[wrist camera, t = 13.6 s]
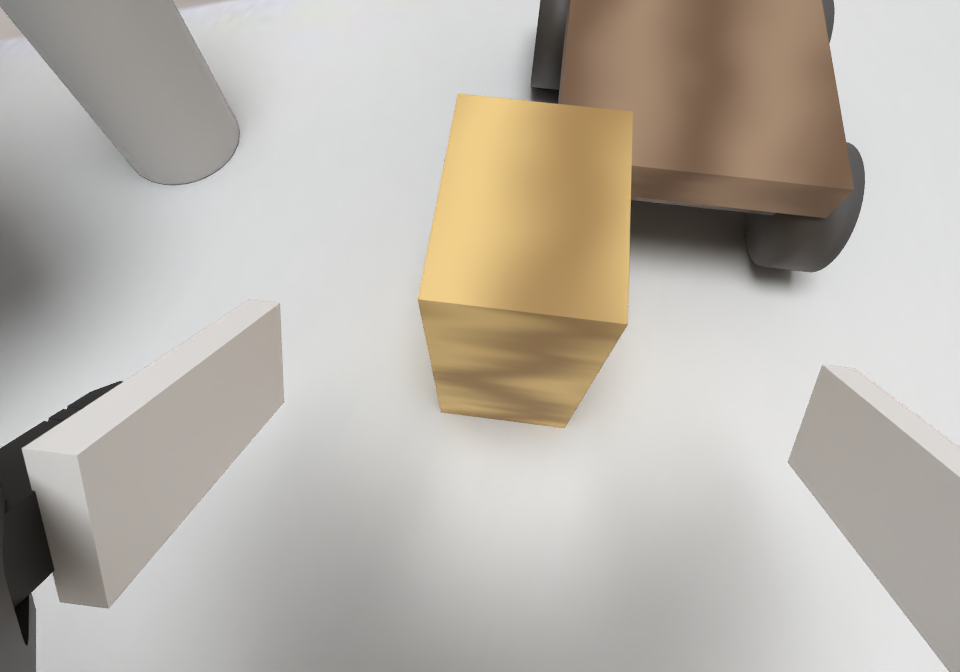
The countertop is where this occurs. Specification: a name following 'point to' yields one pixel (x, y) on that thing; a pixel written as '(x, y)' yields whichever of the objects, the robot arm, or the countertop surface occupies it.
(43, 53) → the bottle
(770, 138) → the trolley
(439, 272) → the block
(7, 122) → the countertop surface
